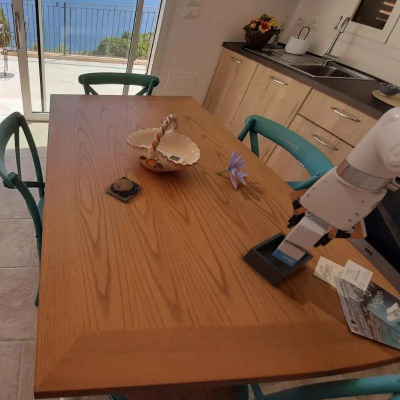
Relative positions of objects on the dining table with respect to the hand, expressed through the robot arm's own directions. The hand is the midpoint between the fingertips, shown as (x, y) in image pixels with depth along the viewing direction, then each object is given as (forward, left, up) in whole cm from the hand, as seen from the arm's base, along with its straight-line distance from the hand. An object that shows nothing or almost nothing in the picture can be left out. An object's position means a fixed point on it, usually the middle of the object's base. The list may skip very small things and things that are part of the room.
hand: (304, 234), depth 63 cm
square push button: (+43, +20, -13) cm, 49 cm away
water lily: (+31, -20, -13) cm, 39 cm away
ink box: (0, 0, -7) cm, 7 cm away
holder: (+1, 0, -13) cm, 13 cm away
